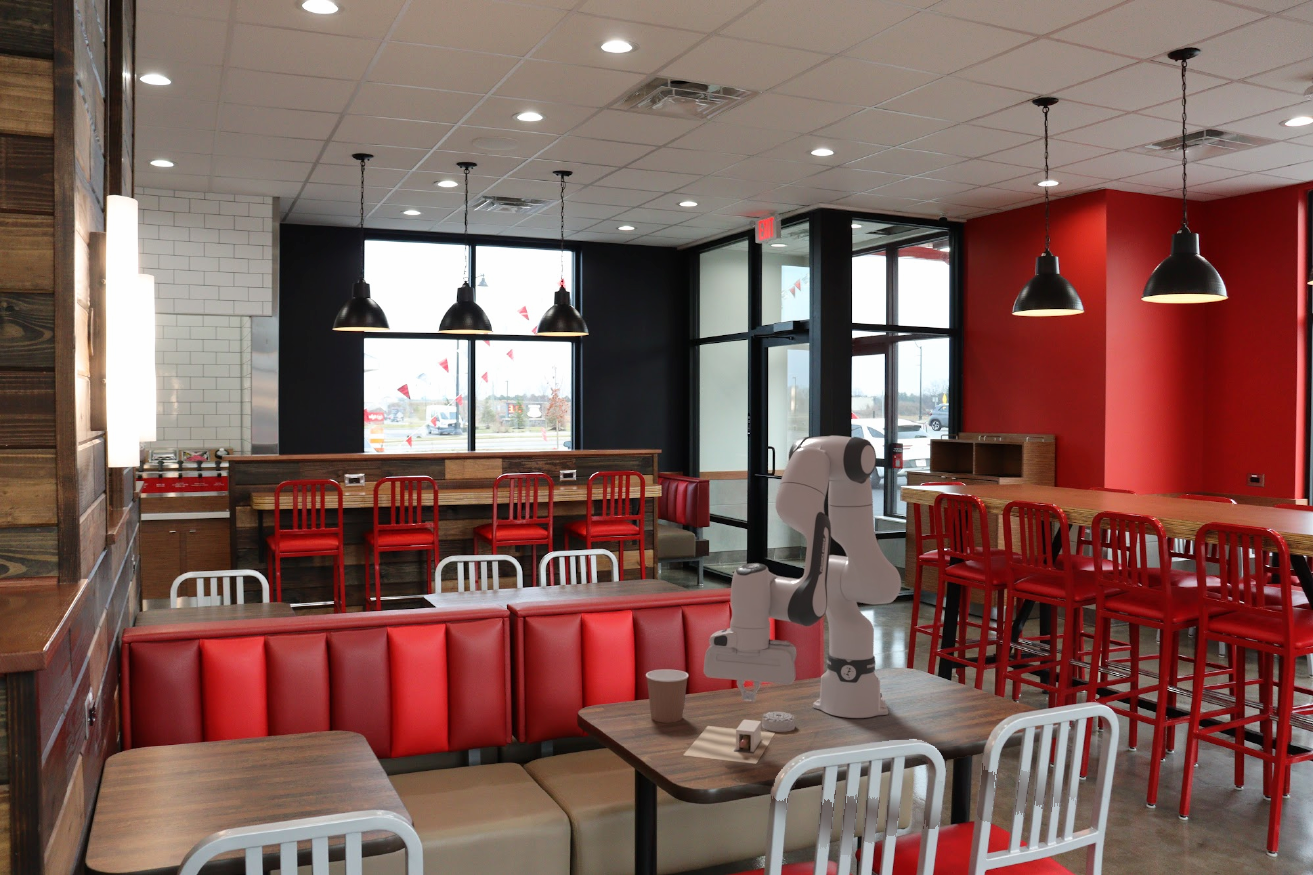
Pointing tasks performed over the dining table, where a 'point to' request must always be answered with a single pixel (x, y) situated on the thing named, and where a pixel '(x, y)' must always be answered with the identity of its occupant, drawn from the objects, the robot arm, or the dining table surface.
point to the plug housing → (749, 729)
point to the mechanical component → (778, 721)
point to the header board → (727, 745)
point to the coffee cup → (667, 694)
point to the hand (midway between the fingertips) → (748, 700)
